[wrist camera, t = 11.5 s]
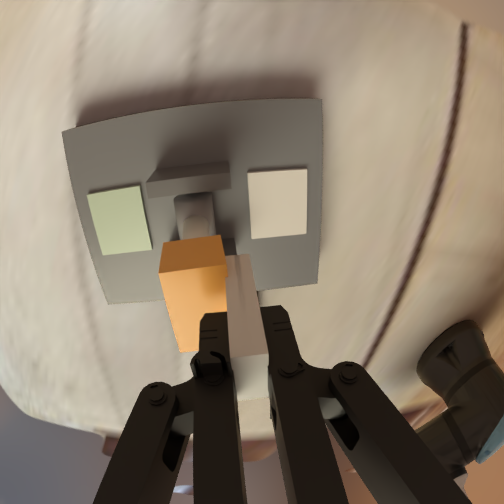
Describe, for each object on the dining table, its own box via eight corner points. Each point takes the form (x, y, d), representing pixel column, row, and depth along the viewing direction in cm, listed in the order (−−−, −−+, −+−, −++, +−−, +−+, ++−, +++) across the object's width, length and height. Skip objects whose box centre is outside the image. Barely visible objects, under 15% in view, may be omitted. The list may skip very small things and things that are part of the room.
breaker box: (311, 98, 25) (340, 100, 19) (306, 321, 38) (321, 362, 32) (75, 127, 23) (39, 139, 17) (133, 339, 36) (124, 381, 30)
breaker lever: (210, 182, 24) (226, 264, 13) (216, 237, 27) (236, 345, 16) (173, 187, 24) (158, 273, 13) (182, 242, 26) (180, 352, 15)
